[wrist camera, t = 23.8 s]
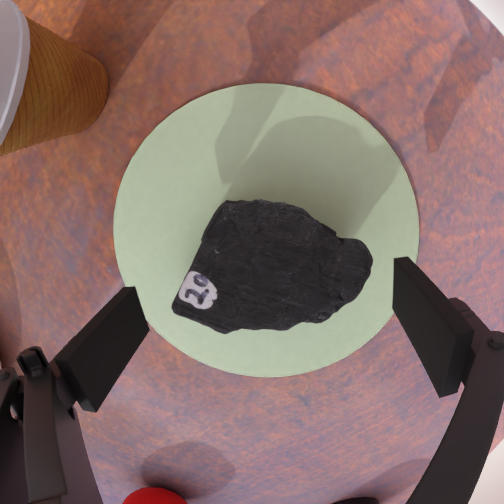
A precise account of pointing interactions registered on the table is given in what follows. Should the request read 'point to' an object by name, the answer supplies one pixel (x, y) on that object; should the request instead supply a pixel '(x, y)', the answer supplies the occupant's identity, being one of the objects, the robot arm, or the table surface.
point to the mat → (271, 189)
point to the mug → (360, 501)
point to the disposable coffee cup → (44, 83)
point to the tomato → (154, 496)
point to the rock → (270, 269)
